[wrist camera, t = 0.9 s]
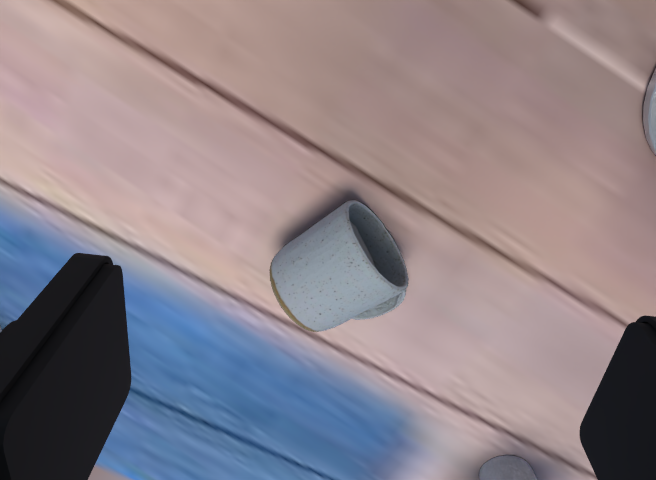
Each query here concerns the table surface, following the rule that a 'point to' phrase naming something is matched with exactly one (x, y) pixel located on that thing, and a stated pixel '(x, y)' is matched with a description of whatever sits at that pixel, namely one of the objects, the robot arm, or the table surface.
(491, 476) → the house plant
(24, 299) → the table surface
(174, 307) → the table surface
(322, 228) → the ceramic mug
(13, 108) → the table surface
